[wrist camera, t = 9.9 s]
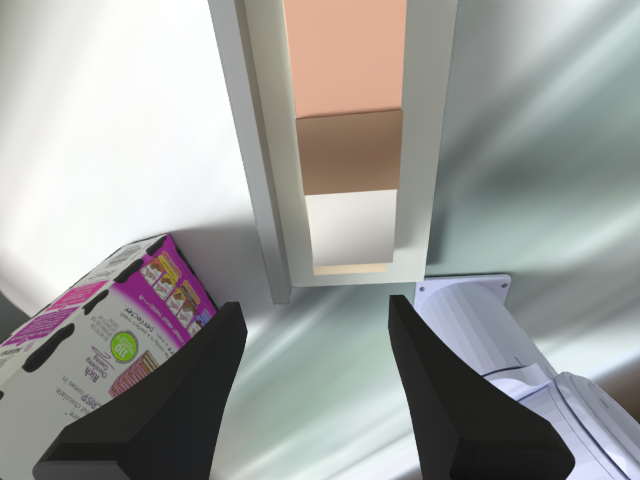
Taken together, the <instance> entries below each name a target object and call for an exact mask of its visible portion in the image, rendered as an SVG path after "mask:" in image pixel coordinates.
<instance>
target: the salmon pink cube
mask: <svg viewBox="0 0 640 480" xmlns="http://www.w3.org/2000/svg"><path fill="white" fill-rule="evenodd" d="M283 1H284V9H285V18H286V27H287V36H288V45H289V53H290V62H291V71H292V80H293V89H294V97H295V106H296V115H297V118H307V117H318V116H330V115H341V114H352V113H364V112H375V111H387V110H398V109H401V98H402V79H403V61H404V42H405V23H406V5H407V0H283Z"/></svg>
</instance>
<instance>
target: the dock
mask: <svg viewBox="0 0 640 480" xmlns="http://www.w3.org/2000/svg"><path fill="white" fill-rule="evenodd" d="M208 4H209V8H210V13H211V18H212V22H213V27H214V32H215V36H216V41H217V45H218V50H219V55H220V59H221V64H222V68H223V73H224V78H225V82H226V87H227V92H228V96H229V101H230V105H231V110H232V115H233V119H234V124H235V128H236V133H237V138H238V142H239V147H240V152H241V156H242V161H243V165H244V170H245V175H246V179H247V184H248V188H249V193H250V198H251V202H252V207H253V212H254V216H255V221H256V225H257V230H258V235H259V239H260V244H261V248H262V253H263V258H264V262H265V267H266V272H267V276H268V281H269V285H270V290H271V295H272V299H273V304H289V301H290V295H291V290H292V287H312V286H334V285H356V284H378V283H400V282H422V281H424V274H425V265H426V257H427V249H428V241H429V233H430V225H431V217H432V209H433V200H434V192H435V184H436V176H437V168H438V160H439V152H440V144H441V136H442V127H443V119H444V111H445V103H446V95H447V87H448V79H449V71H450V63H451V54H452V46H453V38H454V30H455V22H456V14H457V6H458V0H407V5H406V23H405V42H404V61H403V79H402V98H401V110H403V128H402V145H401V163H400V180H399V189H397V196H396V215H395V234H394V253H393V263H387V265H386V272H368V273H348V274H327V275H314V270H313V261H312V252H311V244H310V235H309V226H308V218H307V209H306V200H305V196H304V192H303V183H302V175H301V166H300V158H299V149H298V141H297V132H296V124H295V119H296V114H295V105H294V97H293V88H292V79H291V71H290V62H289V54H288V45H287V36H286V28H285V19H284V10H283V2H282V0H208Z"/></svg>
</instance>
